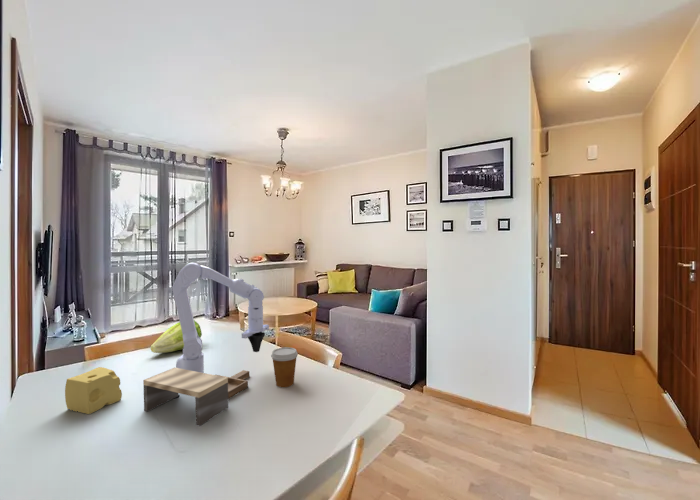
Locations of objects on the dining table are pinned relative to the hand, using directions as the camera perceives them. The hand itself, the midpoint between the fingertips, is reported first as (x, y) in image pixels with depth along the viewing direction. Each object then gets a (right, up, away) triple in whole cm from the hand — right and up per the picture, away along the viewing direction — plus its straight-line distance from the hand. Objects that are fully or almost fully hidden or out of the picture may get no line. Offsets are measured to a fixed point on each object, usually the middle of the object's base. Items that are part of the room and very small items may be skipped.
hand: (256, 351), depth 133 cm
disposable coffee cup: (+14, -8, -13) cm, 21 cm away
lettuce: (-46, -8, +27) cm, 54 cm away
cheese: (-44, -9, -28) cm, 53 cm away
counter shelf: (-13, -8, -31) cm, 34 cm away
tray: (-6, -8, -14) cm, 17 cm away
